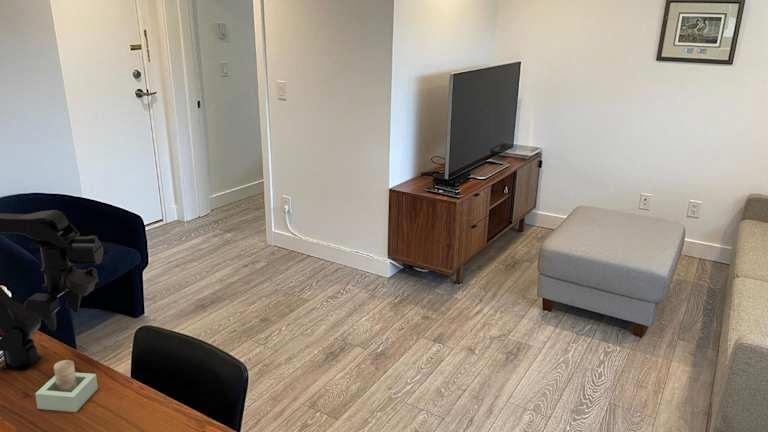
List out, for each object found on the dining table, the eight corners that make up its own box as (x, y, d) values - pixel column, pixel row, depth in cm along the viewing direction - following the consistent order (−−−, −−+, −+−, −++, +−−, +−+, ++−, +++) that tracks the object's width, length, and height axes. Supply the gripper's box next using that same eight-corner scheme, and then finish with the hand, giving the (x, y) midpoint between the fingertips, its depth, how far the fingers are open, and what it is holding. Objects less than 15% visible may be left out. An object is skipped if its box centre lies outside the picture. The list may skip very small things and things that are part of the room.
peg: (55, 402, 133) (49, 368, 130) (65, 392, 137) (60, 359, 134) (72, 404, 133) (66, 370, 130) (82, 393, 137) (77, 360, 134)
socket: (37, 408, 131) (35, 393, 130) (61, 385, 139) (59, 370, 138) (76, 412, 130) (73, 397, 129) (97, 388, 139) (96, 374, 138)
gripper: (65, 281, 130) (74, 342, 135) (109, 250, 148) (115, 305, 153) (17, 278, 131) (28, 338, 136) (67, 248, 149) (75, 302, 154)
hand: (65, 320), depth 145 cm, fingers open, 9 cm apart
